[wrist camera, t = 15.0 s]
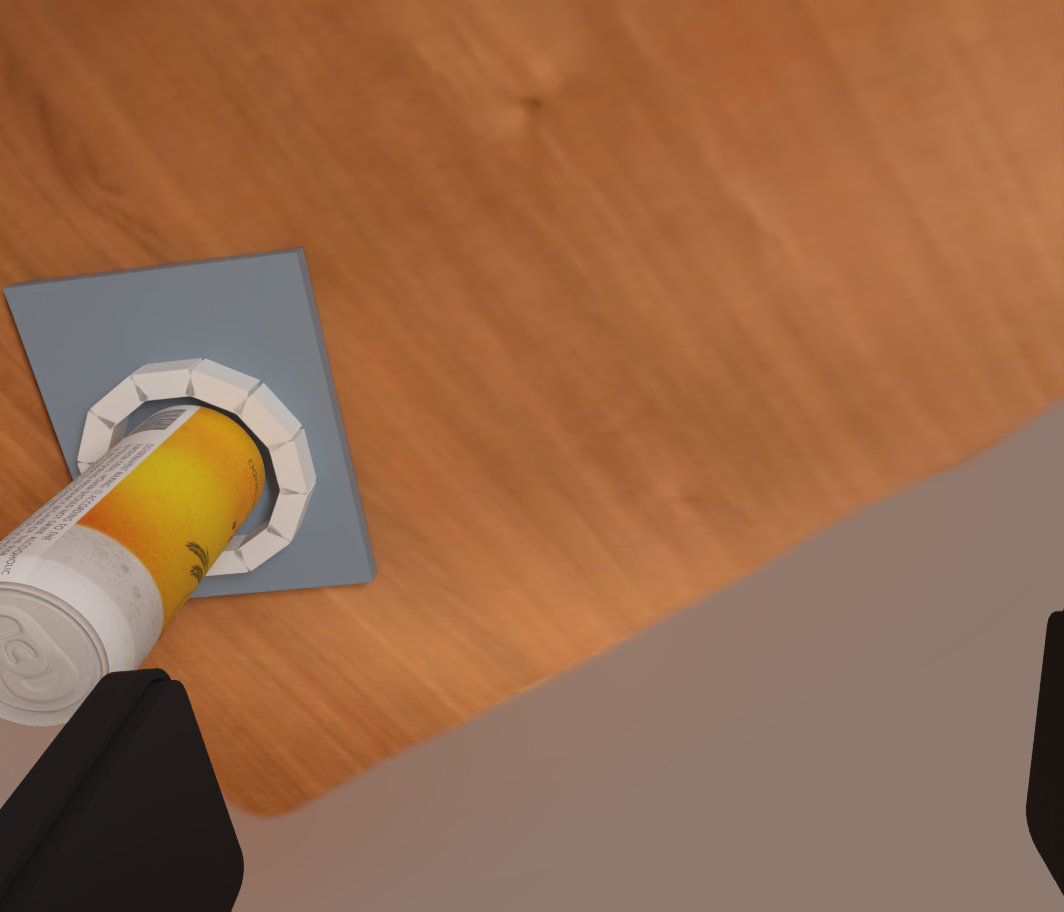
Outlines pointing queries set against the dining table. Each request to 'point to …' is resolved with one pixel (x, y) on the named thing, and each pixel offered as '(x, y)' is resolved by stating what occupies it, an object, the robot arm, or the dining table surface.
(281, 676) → the dining table surface
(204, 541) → the beer can
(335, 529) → the base board
